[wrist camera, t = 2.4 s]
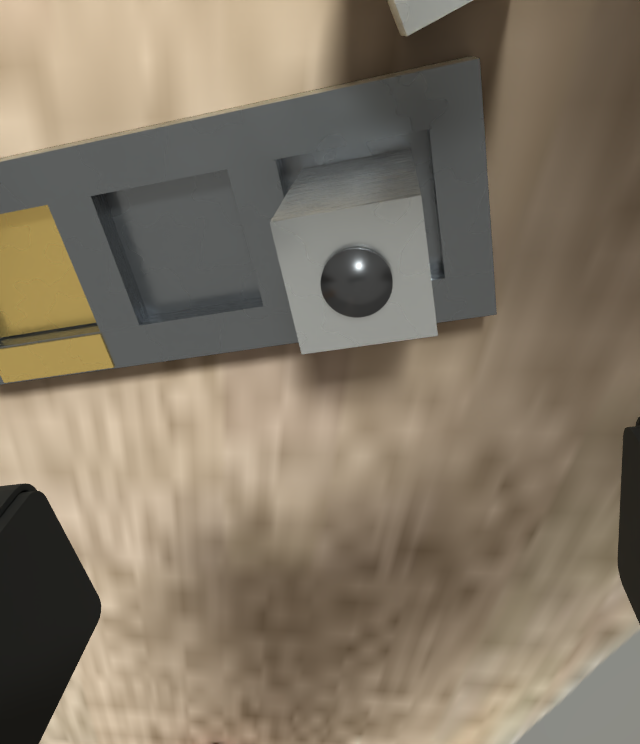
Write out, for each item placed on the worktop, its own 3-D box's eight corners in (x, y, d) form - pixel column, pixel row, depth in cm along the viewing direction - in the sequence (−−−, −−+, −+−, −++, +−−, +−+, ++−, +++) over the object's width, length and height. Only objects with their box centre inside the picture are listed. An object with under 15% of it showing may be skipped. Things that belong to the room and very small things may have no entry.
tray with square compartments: (471, 56, 23) (480, 58, 21) (488, 293, 28) (497, 315, 26) (-99, 179, 28) (-140, 192, 26) (-3, 365, 32) (-30, 389, 30)
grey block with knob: (410, 148, 24) (421, 197, 17) (423, 255, 26) (438, 339, 19) (301, 169, 25) (267, 225, 18) (322, 271, 27) (300, 358, 20)
